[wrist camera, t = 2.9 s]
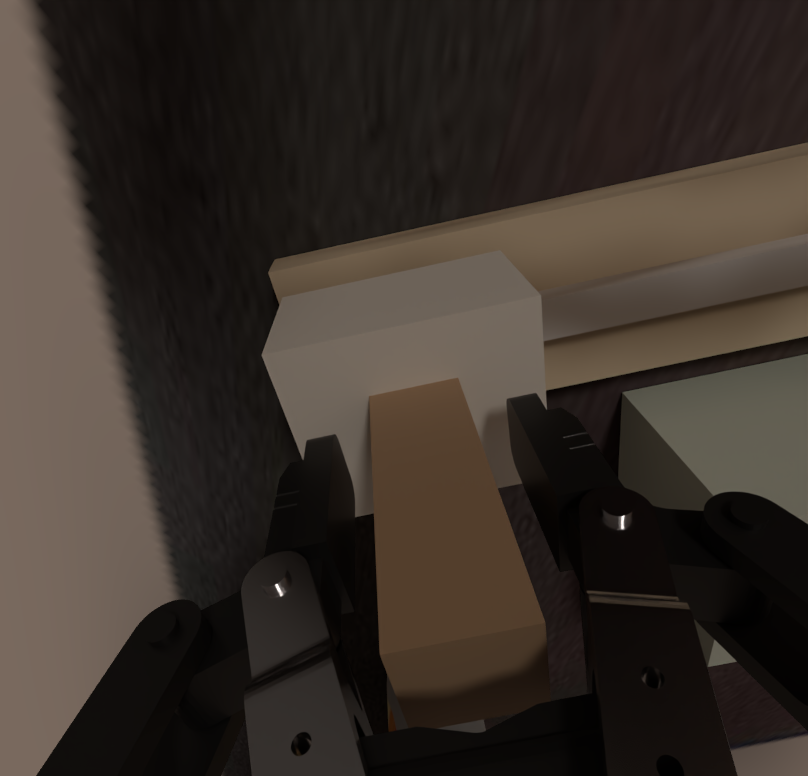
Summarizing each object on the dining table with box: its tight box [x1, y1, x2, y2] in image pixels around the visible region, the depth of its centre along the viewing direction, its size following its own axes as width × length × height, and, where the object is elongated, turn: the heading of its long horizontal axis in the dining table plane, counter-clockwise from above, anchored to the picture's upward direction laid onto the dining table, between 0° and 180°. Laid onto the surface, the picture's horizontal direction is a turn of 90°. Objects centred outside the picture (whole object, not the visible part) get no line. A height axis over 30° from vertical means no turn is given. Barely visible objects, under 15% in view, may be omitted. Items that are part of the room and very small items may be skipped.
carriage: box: [262, 250, 551, 729], centre depth 12 cm, size 6×7×11 cm
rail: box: [268, 143, 808, 390], centre depth 17 cm, size 7×25×4 cm, turn 101°
